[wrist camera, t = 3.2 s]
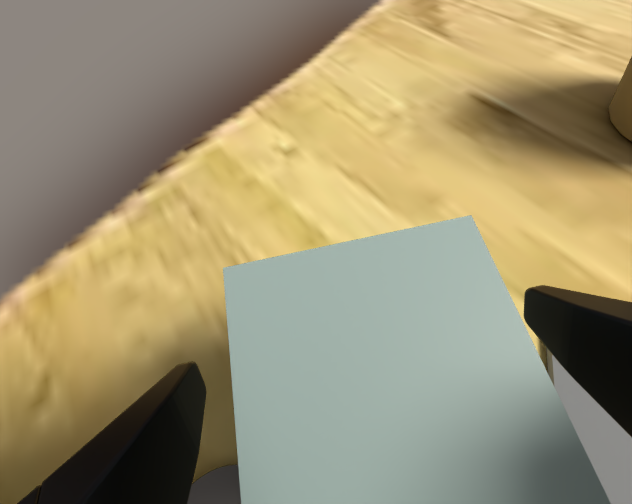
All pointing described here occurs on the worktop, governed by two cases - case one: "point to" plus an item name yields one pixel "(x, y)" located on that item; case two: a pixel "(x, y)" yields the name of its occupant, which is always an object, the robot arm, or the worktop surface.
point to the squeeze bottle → (623, 104)
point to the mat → (596, 434)
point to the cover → (394, 379)
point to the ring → (217, 487)
